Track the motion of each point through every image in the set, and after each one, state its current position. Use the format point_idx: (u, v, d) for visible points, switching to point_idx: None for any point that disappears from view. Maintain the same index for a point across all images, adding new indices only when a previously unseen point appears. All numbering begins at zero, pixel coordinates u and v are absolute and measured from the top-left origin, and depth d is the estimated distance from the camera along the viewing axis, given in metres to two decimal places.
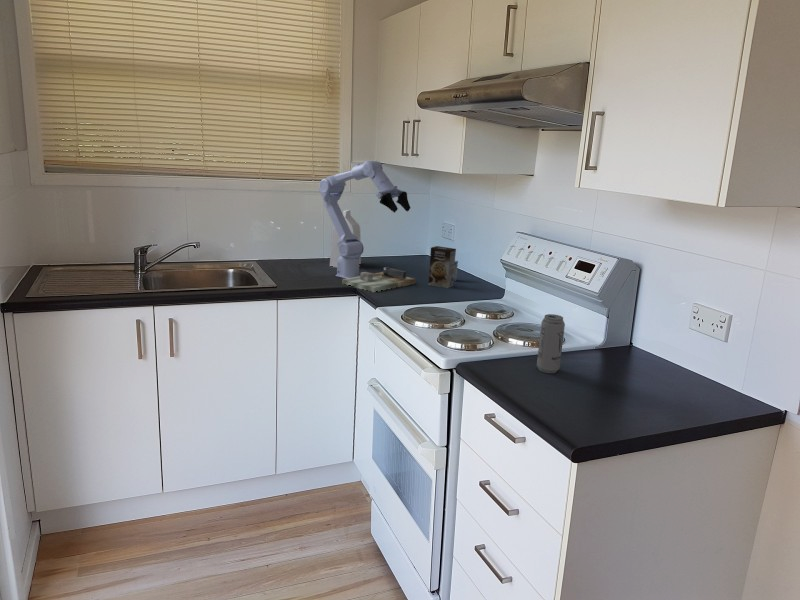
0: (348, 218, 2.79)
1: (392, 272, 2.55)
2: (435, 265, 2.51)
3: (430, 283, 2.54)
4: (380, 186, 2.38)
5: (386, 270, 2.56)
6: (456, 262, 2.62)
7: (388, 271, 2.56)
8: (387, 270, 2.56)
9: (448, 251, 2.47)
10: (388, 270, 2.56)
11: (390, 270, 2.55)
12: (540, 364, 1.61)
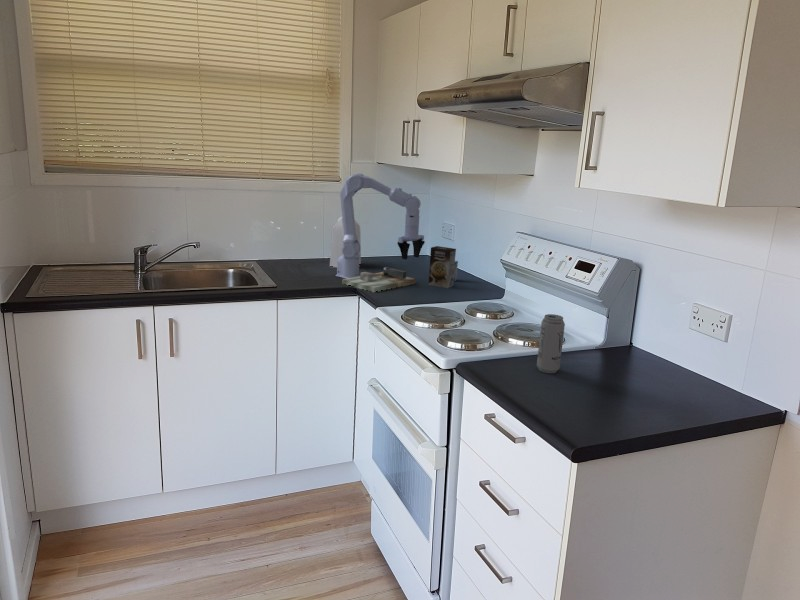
0: None
1: (392, 272, 2.55)
2: (435, 265, 2.51)
3: (430, 283, 2.54)
4: (407, 228, 2.51)
5: (386, 270, 2.56)
6: (456, 262, 2.62)
7: (388, 271, 2.56)
8: (387, 270, 2.56)
9: (448, 251, 2.47)
10: (388, 270, 2.56)
11: (390, 270, 2.55)
12: (540, 364, 1.61)
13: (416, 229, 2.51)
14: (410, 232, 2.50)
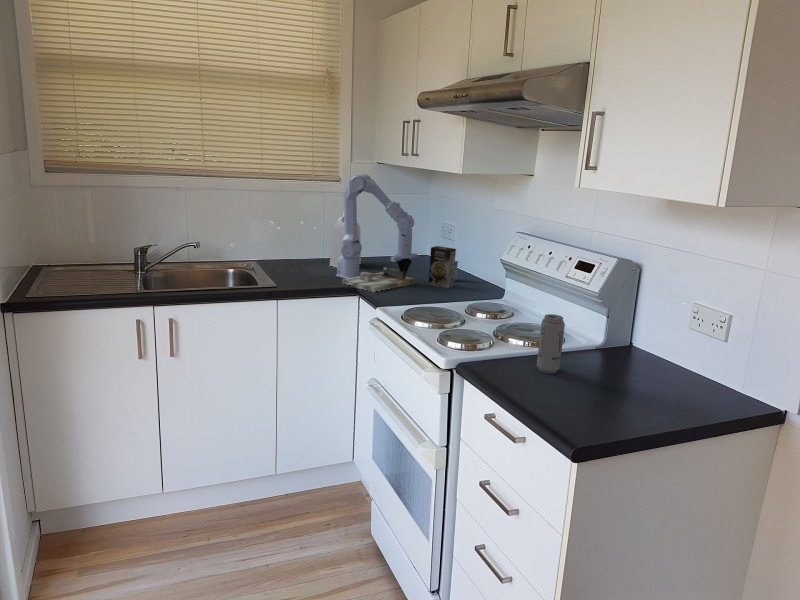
0: None
1: (392, 272, 2.55)
2: (435, 265, 2.51)
3: (430, 283, 2.54)
4: (400, 247, 2.50)
5: (386, 270, 2.56)
6: (456, 262, 2.62)
7: (388, 271, 2.56)
8: (387, 270, 2.56)
9: (448, 251, 2.47)
10: (388, 270, 2.56)
11: (390, 270, 2.55)
12: (540, 364, 1.61)
13: (409, 248, 2.50)
14: (403, 251, 2.49)
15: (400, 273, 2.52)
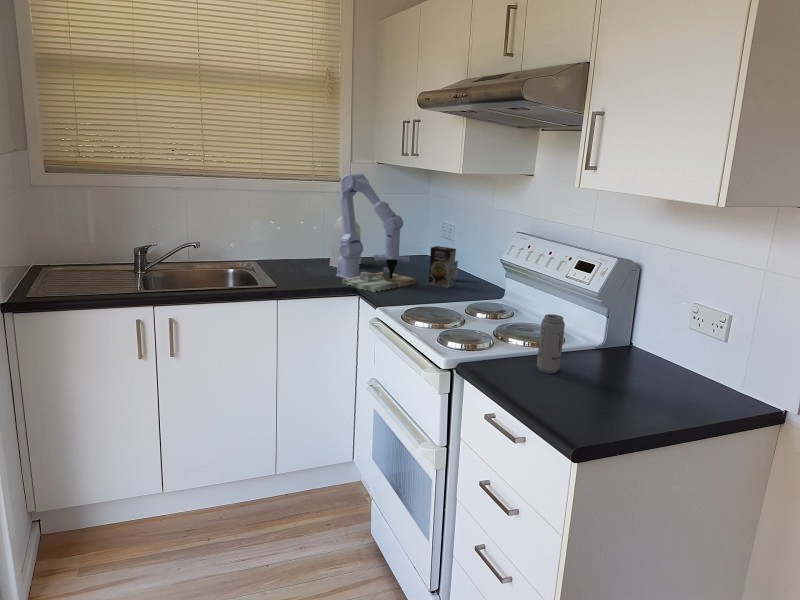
0: None
1: None
2: (435, 265, 2.51)
3: (430, 283, 2.54)
4: (385, 247, 2.48)
5: (384, 270, 2.57)
6: (456, 262, 2.62)
7: None
8: (384, 270, 2.57)
9: (448, 251, 2.47)
10: (384, 270, 2.56)
11: (384, 270, 2.55)
12: (540, 364, 1.61)
13: (391, 249, 2.45)
14: (386, 251, 2.47)
15: (384, 273, 2.49)
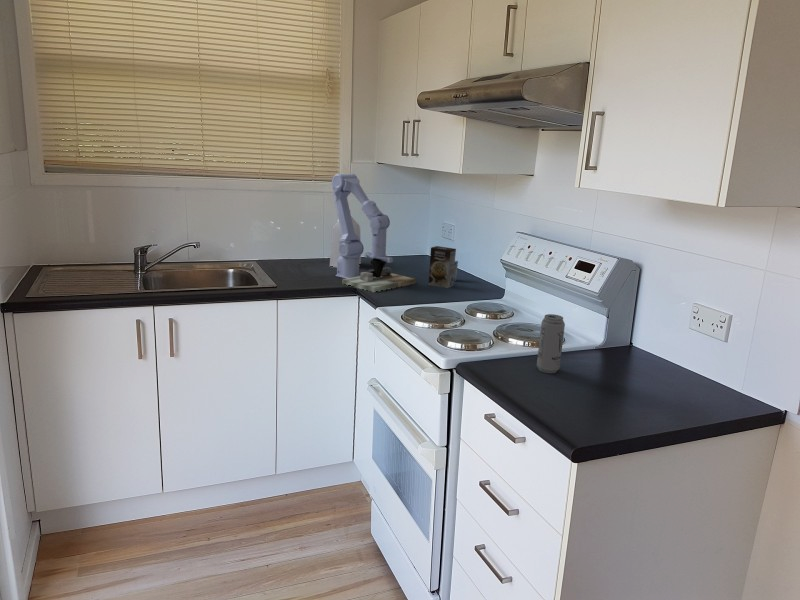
0: None
1: None
2: (435, 265, 2.51)
3: (430, 283, 2.54)
4: None
5: None
6: (456, 262, 2.62)
7: None
8: None
9: (448, 251, 2.47)
10: None
11: None
12: (540, 364, 1.61)
13: (373, 247, 2.47)
14: None
15: None
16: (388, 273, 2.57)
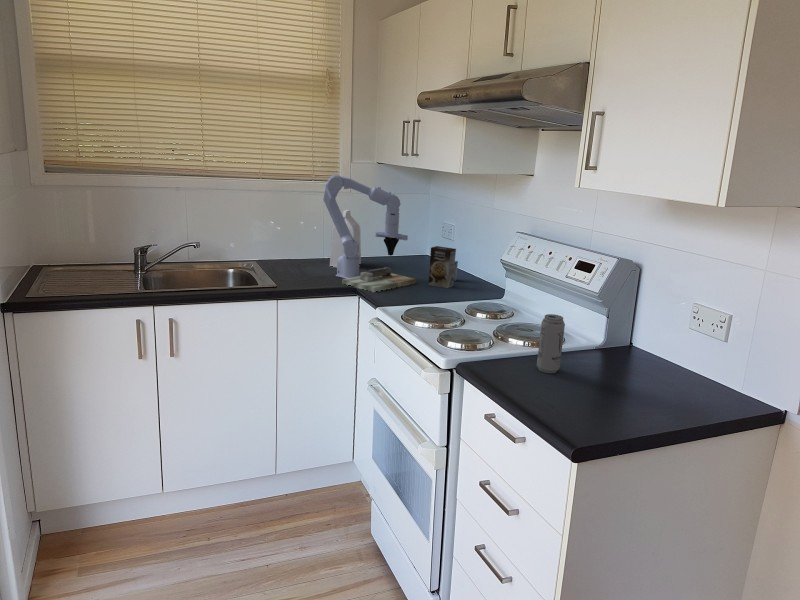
0: (348, 218, 2.79)
1: None
2: (435, 265, 2.51)
3: (430, 283, 2.54)
4: None
5: None
6: (456, 262, 2.62)
7: None
8: None
9: (448, 251, 2.47)
10: None
11: None
12: (540, 364, 1.61)
13: (388, 226, 2.55)
14: (385, 228, 2.58)
15: None
16: (388, 273, 2.57)
